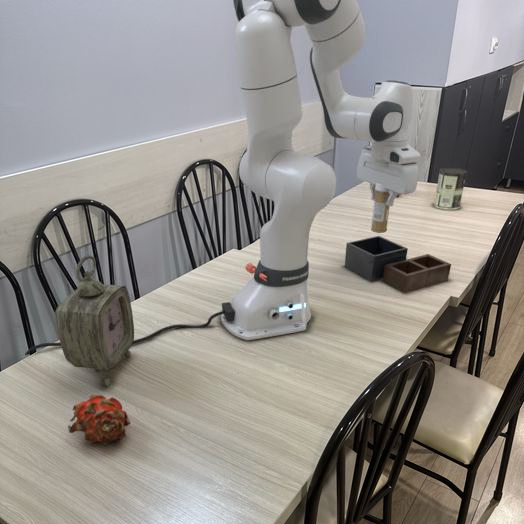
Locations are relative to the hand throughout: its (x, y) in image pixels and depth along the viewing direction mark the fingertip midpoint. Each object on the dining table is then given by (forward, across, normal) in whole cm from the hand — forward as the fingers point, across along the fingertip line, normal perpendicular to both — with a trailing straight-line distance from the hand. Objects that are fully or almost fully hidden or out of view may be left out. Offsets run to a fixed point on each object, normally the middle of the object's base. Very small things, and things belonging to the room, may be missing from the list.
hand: (382, 203), depth 139 cm
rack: (+20, +12, +5) cm, 24 cm away
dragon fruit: (+20, +32, -90) cm, 97 cm away
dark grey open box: (+20, 0, 0) cm, 20 cm away
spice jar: (+8, 0, 0) cm, 8 cm away
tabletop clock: (+20, +12, -84) cm, 87 cm away
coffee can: (+20, -36, +68) cm, 80 cm away
